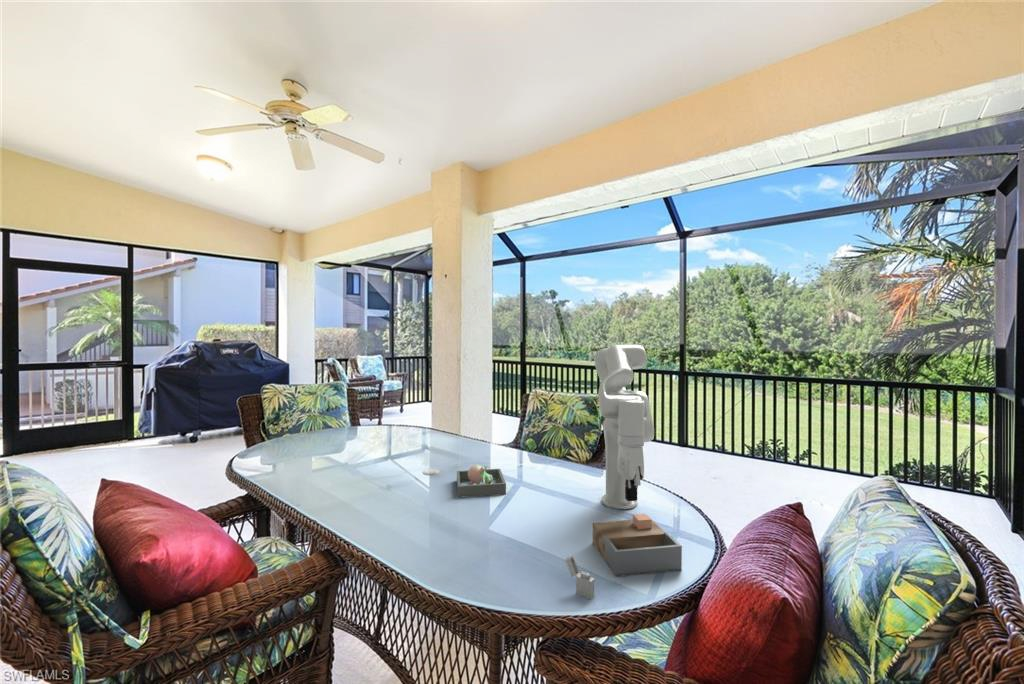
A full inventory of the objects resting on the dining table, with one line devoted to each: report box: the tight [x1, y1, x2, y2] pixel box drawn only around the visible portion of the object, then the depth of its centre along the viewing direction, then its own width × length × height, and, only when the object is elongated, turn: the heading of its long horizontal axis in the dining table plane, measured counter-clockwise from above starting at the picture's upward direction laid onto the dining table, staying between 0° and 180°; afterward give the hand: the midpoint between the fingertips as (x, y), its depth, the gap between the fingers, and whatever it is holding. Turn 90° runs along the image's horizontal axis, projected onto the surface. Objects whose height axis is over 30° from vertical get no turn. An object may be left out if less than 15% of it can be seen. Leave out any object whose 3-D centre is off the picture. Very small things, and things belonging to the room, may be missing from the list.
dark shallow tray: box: [456, 468, 507, 498], centre depth 179 cm, size 18×18×4 cm
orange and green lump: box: [466, 464, 494, 485], centre depth 179 cm, size 12×10×9 cm
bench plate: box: [592, 519, 665, 561], centre depth 129 cm, size 10×18×6 cm, turn 99°
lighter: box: [564, 555, 595, 600], centre depth 109 cm, size 7×2×8 cm, turn 52°
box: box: [604, 531, 683, 578], centre depth 120 cm, size 8×18×6 cm, turn 99°
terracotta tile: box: [632, 513, 653, 529], centre depth 131 cm, size 4×4×2 cm
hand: (631, 499), depth 138 cm, fingers closed
